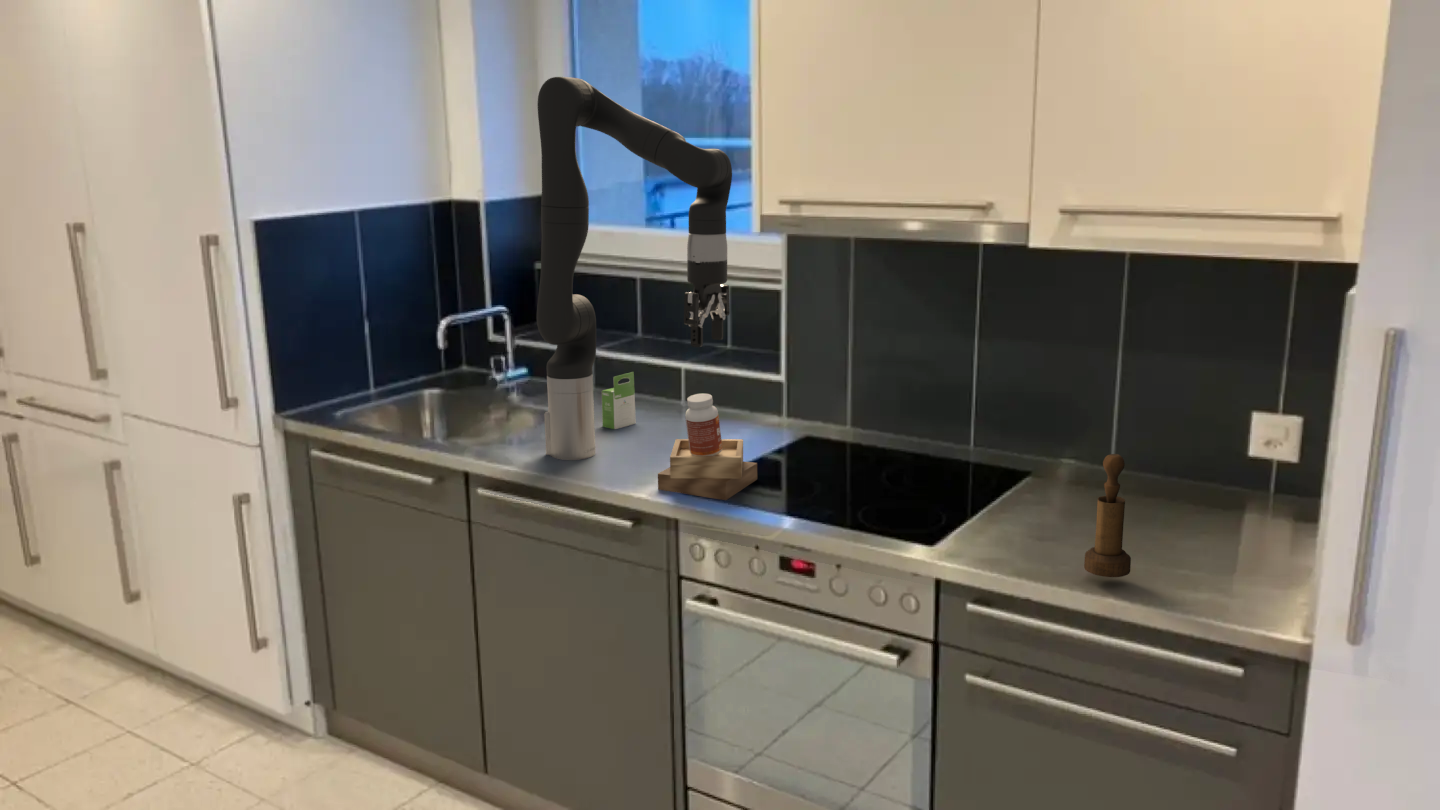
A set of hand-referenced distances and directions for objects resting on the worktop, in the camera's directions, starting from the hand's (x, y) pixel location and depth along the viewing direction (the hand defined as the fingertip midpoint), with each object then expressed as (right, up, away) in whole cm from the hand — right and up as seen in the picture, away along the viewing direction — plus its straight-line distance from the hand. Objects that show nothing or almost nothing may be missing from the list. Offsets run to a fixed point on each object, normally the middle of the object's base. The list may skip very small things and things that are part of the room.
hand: (707, 342), depth 228 cm
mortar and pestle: (+61, -37, -47) cm, 85 cm away
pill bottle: (0, -21, -3) cm, 21 cm away
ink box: (-20, -18, +40) cm, 49 cm away
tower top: (0, -24, -3) cm, 24 cm away
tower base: (0, -28, -1) cm, 28 cm away
